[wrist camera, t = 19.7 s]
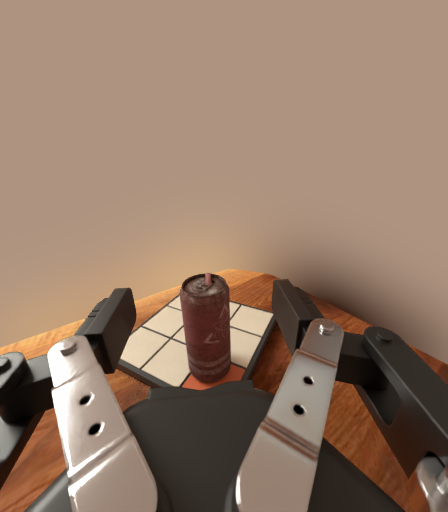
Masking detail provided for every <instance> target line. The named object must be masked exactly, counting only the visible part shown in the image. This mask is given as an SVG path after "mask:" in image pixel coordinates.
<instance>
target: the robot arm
mask: <svg viewBox="0 0 448 512" xmlns="http://www.w3.org/2000/svg"><path fill="white" fill-rule="evenodd" d="M272 310H273V314H274V316H275V318H276V321H277V323H278V325H279V327H280V330H281V332H282V334H283V337H284V339H285V341H286V343H287V346H288V348H289V350H290V352H291V355H292V359H291V361H290V364H289V366H288V368H287V370H286V372H285V375H284V377H283V379H282V381H281V384H280V386H279V388H278V390H277V393H276V395H273V394H271V393H269V392H267V391H264V390H261V389H257V388H254V384H253V380H241V381H229V382H225V383H222V384H219V385H216V386H213V387H210V388H208V389H205V390H196V389H190V388H184V387H178V386H171V387H159V388H150V389H149V394H148V398H145V399H143V400H141V401H138V402H136V403H135V404H133V405H131V406H130V407H128V408H127V409H126V410H124V411H123V412H122V411H121V408H120V406H119V404H118V402H117V400H116V398H115V395H114V393H113V391H112V389H111V387H110V385H109V383H108V380H107V378H106V376H105V374H112V373H114V372H115V369H116V367H117V365H118V362H119V360H120V358H121V355H122V353H123V350H124V348H125V346H126V343H127V341H128V339H129V336H130V334H131V331H132V329H133V327H134V324H135V322H136V308H135V304H134V299H133V295H132V291H131V289H130V288H118V289H115V290H114V291H113V292H112V294H111V295H110V297H109V298H105V299H103V300H102V301H101V302H99V303H98V304H97V305H96V306H95V307H94V309H93V310H92V312H91V313H90V314H89V316H88V318H86V320H85V321H84V322H83V324H82V325H81V326H80V328H79V329H78V330H77V332H76V333H75V335H74V336H71V337H68V338H65V339H63V340H61V341H59V342H58V343H56V344H55V345H54V346H53V347H52V348H51V349H50V350H49V352H48V354H46V355H42V356H39V357H35V358H32V359H28V360H26V359H25V357H24V355H23V354H22V353H20V352H10V353H6V354H3V355H1V356H0V489H1V488H2V486H3V484H4V482H5V481H6V479H7V477H8V475H9V474H10V472H11V470H12V468H13V467H14V465H15V463H16V461H17V460H18V458H19V456H20V454H21V453H22V451H23V449H24V447H25V446H26V444H27V442H28V440H29V439H30V437H31V435H32V433H33V432H34V430H35V428H36V426H37V424H38V423H39V421H40V419H41V417H42V416H43V414H44V412H45V411H46V410H49V409H51V408H54V407H55V412H56V417H57V422H58V427H59V432H60V437H61V442H62V447H63V452H64V457H65V462H66V467H67V468H66V469H65V470H64V471H63V472H62V473H61V474H60V475H59V476H58V477H57V478H56V479H55V480H54V481H53V483H52V484H51V485H50V486H49V487H48V488H47V489H46V490H45V491H44V492H43V493H42V494H41V495H40V496H39V497H38V498H37V499H36V500H35V501H34V502H33V503H32V504H31V505H30V506H29V507H28V508H27V509H26V510H25V511H24V512H405V511H404V510H403V509H402V508H401V507H400V506H399V505H398V504H397V503H396V502H395V501H394V500H393V499H392V498H390V497H389V496H388V495H387V494H386V493H385V492H384V491H383V490H382V489H380V488H379V487H378V486H377V485H376V484H375V483H374V482H373V481H372V480H370V479H369V478H368V477H367V476H366V475H365V474H364V473H363V472H361V471H360V470H359V469H358V468H357V467H356V466H355V465H354V464H353V463H351V462H350V461H349V460H348V459H347V458H346V457H345V456H344V455H342V454H341V453H340V452H339V451H338V450H337V449H336V448H335V447H334V446H332V445H331V444H330V443H329V442H328V441H327V440H326V439H325V438H324V437H323V433H324V428H325V423H326V419H327V414H328V409H329V405H330V400H331V395H332V391H333V386H334V381H335V380H336V381H340V382H345V383H350V384H353V385H354V387H355V388H356V390H357V392H358V394H359V395H360V397H361V399H362V400H363V402H364V404H365V405H366V407H367V409H368V411H369V412H370V414H371V416H372V417H373V419H374V421H375V422H376V424H377V426H378V428H379V429H380V431H381V433H382V434H383V436H384V438H385V440H386V441H387V443H388V445H389V446H390V448H391V450H392V451H393V453H394V455H395V457H396V458H397V460H398V462H399V463H400V465H401V467H402V468H403V470H404V472H405V474H406V475H407V477H408V479H409V480H408V481H407V483H406V496H407V499H408V502H409V505H410V507H411V509H412V511H413V512H448V385H447V384H446V383H445V382H444V381H443V380H442V379H441V378H440V377H439V376H438V375H437V374H436V373H435V372H434V371H433V370H432V369H431V368H430V367H429V366H428V365H427V364H426V363H425V362H424V361H423V360H422V359H421V358H420V357H419V356H418V355H417V354H416V353H415V352H414V351H413V350H412V349H411V348H410V347H409V346H408V345H407V344H406V343H405V342H404V341H403V340H402V339H401V338H400V337H399V336H398V335H397V334H395V333H394V332H392V331H390V330H388V329H385V328H381V327H375V326H373V327H368V328H366V329H365V331H364V335H360V334H354V333H348V332H344V331H343V329H342V327H341V326H340V325H338V324H337V323H335V322H333V321H331V320H328V319H325V318H324V317H323V315H322V314H321V313H320V311H319V310H318V309H317V307H316V306H315V305H314V304H313V302H312V301H311V299H309V297H308V295H307V294H306V293H305V292H304V291H303V290H301V289H300V288H298V287H293V286H292V284H291V283H290V281H289V280H288V279H280V280H274V282H273V294H272Z"/></svg>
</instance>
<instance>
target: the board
mask: <svg viewBox="0 0 448 512" xmlns="http://www.w3.org/2000/svg"><path fill="white" fill-rule="evenodd" d="M275 323H276V318H275V316H274V314H273V312H269V311H266V310H262V309H258V308H255V307H251V306H248V305H244V304H240V303H237V302H233V301H230V341H231V366H230V370H229V371H228V373H227V374H226V375H225V376H224V377H223V378H222V379H220V380H219V381H216V382H213V383H205V382H201V381H199V380H198V379H196V378H194V377H193V375H192V374H191V373H190V370H189V365H188V357H187V349H186V341H185V333H184V325H183V317H182V310H181V302H180V294H179V295H178V296H176V297H175V298H174V299H173V300H171V301H170V302H169V303H168V304H166V305H165V306H164V307H163V308H161V309H160V310H159V311H158V312H156V313H155V314H154V315H153V316H151V317H150V318H149V319H148V320H146V321H145V322H144V323H143V324H141V325H140V326H139V327H138V328H137V329H135V330H134V331H133V332H132V333H131V334H130V336H129V339H128V341H127V343H126V346H125V348H124V350H123V353H122V355H121V358H120V360H119V362H118V365H117V367H116V368H117V369H119V370H121V371H123V372H125V373H126V374H128V375H130V376H132V377H134V378H135V379H137V380H139V381H141V382H143V383H144V384H146V385H148V386H150V387H152V388H159V387H171V386H178V387H184V388H190V389H196V390H205V389H208V388H210V387H213V386H216V385H219V384H222V383H225V382H229V381H241V380H250V378H251V376H252V374H253V371H254V369H255V367H256V365H257V363H258V361H259V358H260V356H261V354H262V352H263V350H264V347H265V345H266V343H267V341H268V339H269V336H270V334H271V332H272V330H273V328H274V326H275Z"/></svg>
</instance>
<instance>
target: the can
mask: <svg viewBox="0 0 448 512" xmlns="http://www.w3.org/2000/svg"><path fill="white" fill-rule="evenodd" d="M180 302H181V310H182V317H183V325H184V333H185V341H186V349H187V357H188V365H189V370H190V373H191V374H192V375H193V377H194V378H196V379H198V380H199V381H201V382H205V383H213V382H216V381H219V380H220V379H222V378H223V377H224V376H225V375H226V374H227V373H228V371H229V370H230V366H231V341H230V298H229V287H228V285H227V283H226V281H225V280H224V278H222V277H221V276H219V275H215V274H210V273H206V274H199V275H194V276H192V277H190V278H188V279H186V280H185V281H184V282H183V284H182V287H181V289H180Z"/></svg>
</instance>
